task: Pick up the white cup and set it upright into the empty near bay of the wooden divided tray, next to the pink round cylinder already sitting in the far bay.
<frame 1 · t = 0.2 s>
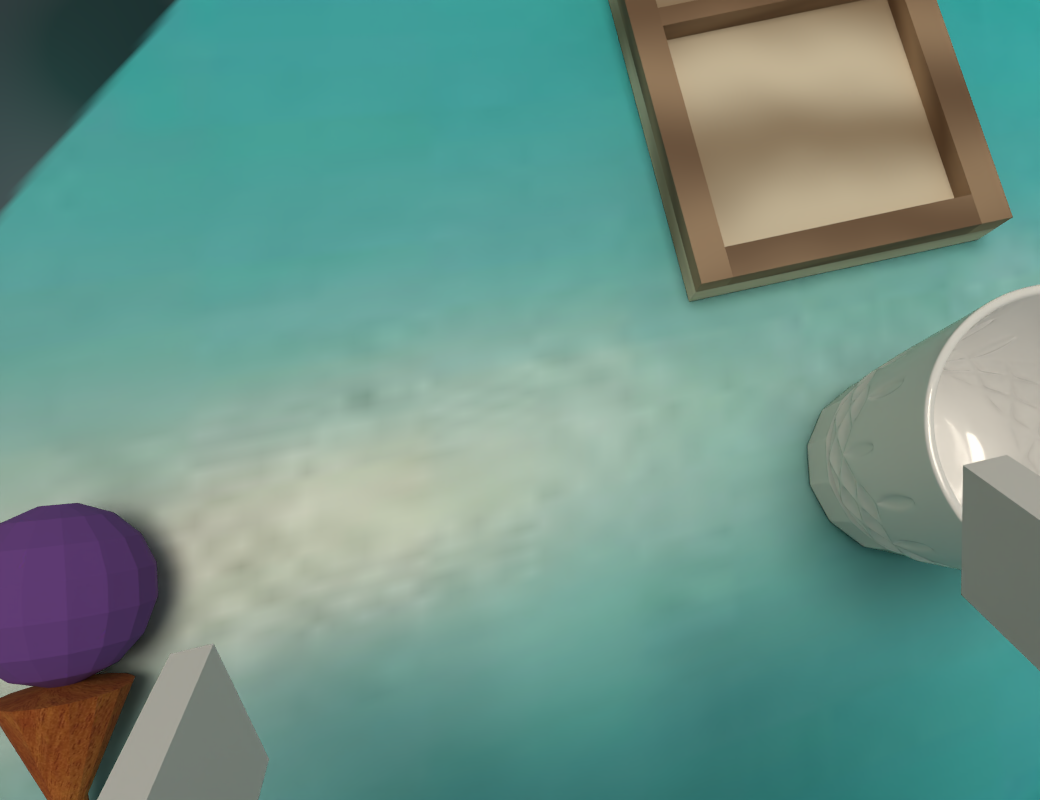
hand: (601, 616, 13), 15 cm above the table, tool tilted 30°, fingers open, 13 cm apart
wooden divided tray: (760, 29, 32), on the table
kendama: (112, 781, 28), on the table
white cup: (890, 465, 29), on the table
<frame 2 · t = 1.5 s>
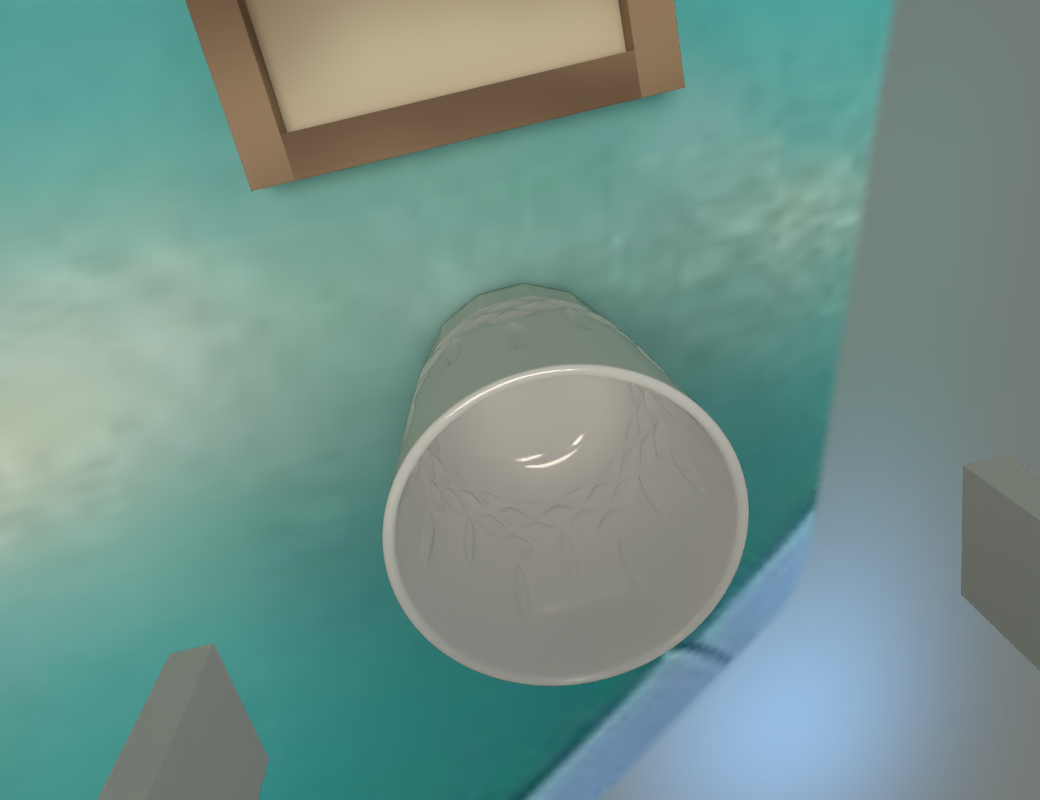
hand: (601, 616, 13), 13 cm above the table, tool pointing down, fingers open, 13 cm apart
white cup: (523, 379, 25), on the table
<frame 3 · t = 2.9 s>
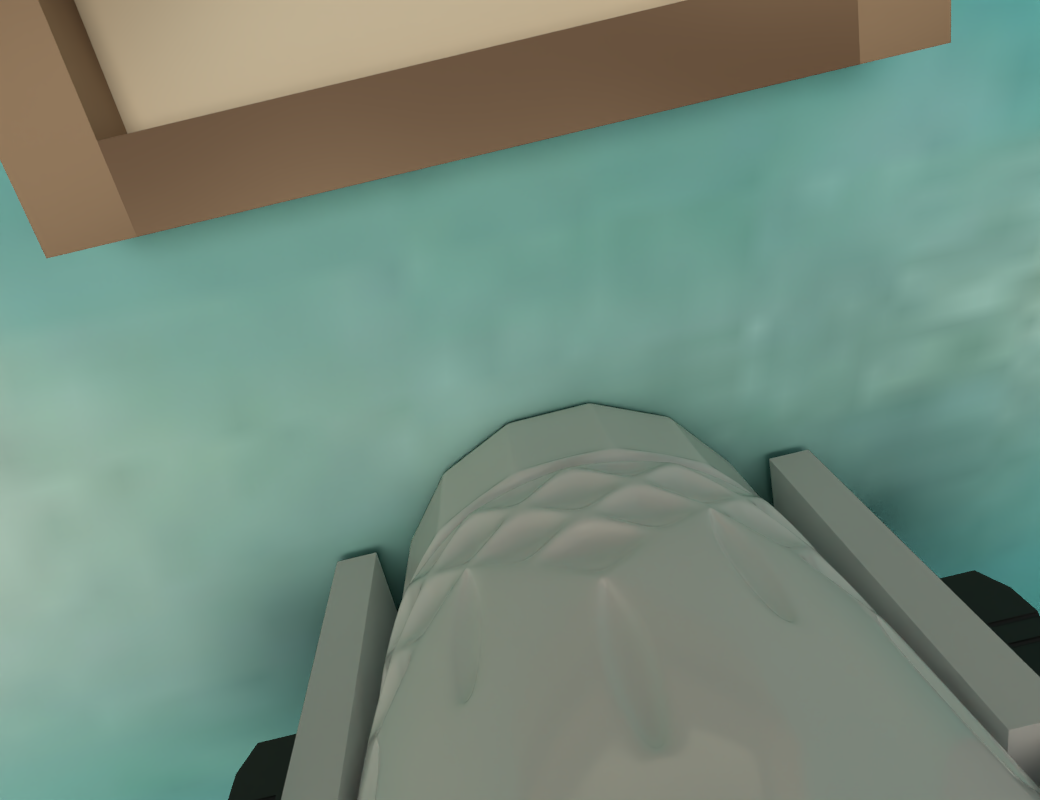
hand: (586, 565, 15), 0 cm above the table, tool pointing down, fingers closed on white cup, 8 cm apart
white cup: (581, 553, 15), on the table, touching gripper
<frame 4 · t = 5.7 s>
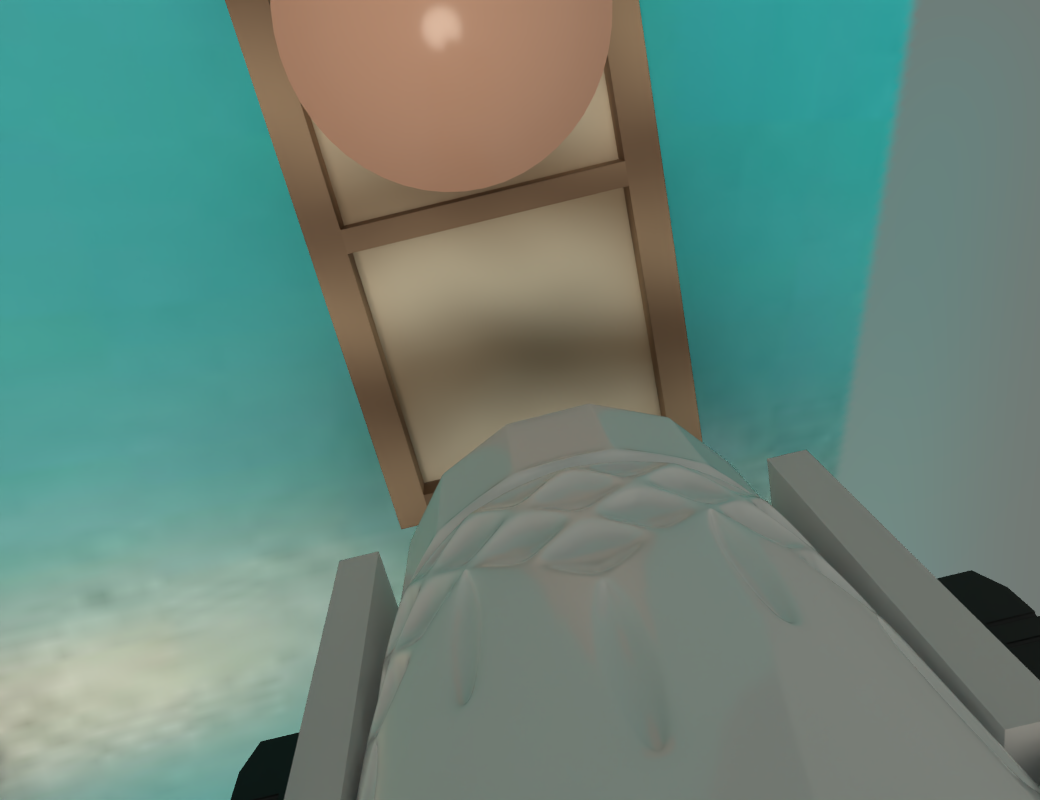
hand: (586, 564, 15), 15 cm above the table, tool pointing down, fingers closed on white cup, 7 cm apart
wooden divided tray: (482, 199, 27), on the table
pink round cylinder: (445, 43, 24), point 1 cm above the table, touching wooden divided tray
white cup: (580, 553, 15), point 15 cm above the table, touching gripper
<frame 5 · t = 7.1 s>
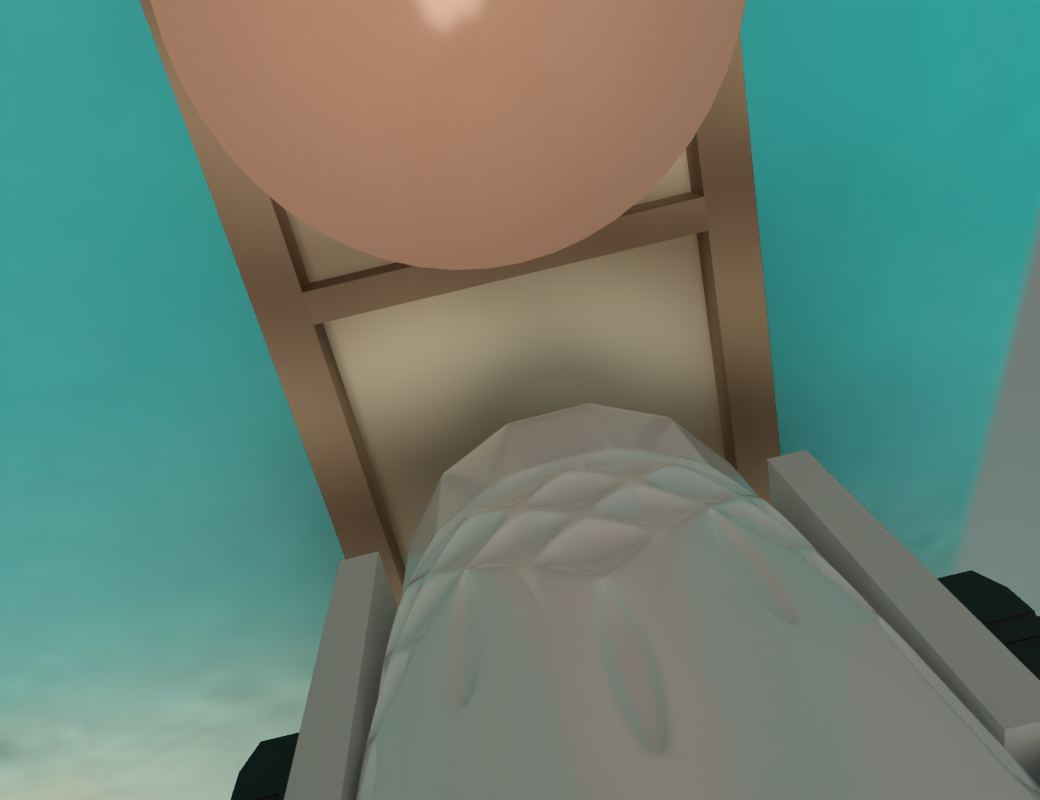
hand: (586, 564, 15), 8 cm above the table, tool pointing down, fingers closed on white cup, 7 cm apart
wooden divided tray: (501, 244, 20), on the table
pink round cylinder: (452, 28, 17), point 1 cm above the table, touching wooden divided tray
white cup: (580, 553, 15), point 7 cm above the table, touching gripper
when the fingers open (4 cm above the table, at t = 8.2 s): white cup drops 2 cm, resting on wooden divided tray.
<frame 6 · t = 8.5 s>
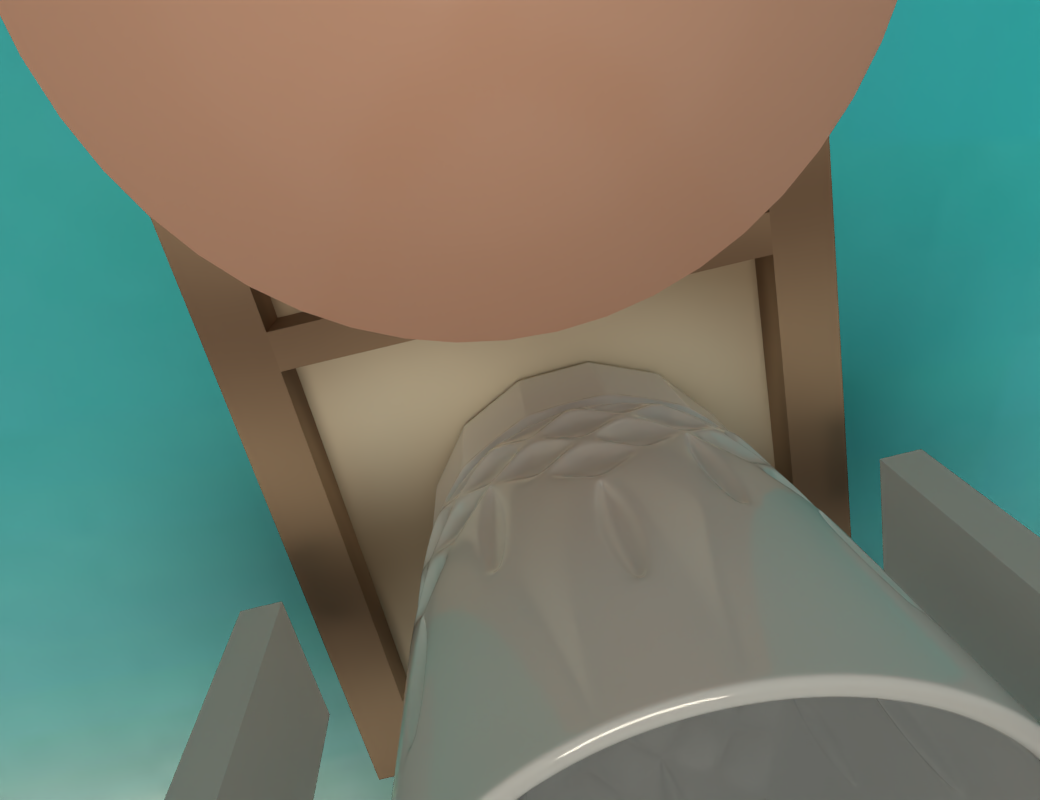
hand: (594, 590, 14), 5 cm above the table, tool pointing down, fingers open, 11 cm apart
wooden divided tray: (513, 268, 16), on the table
white cup: (583, 496, 17), point 1 cm above the table, touching wooden divided tray
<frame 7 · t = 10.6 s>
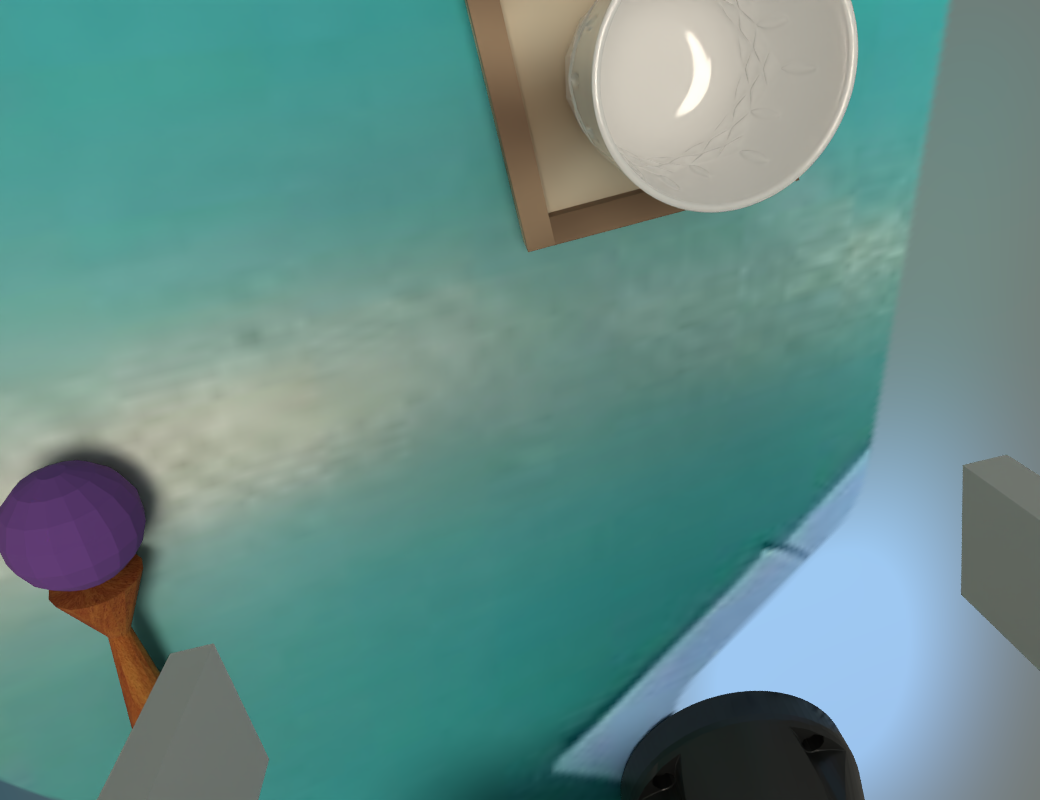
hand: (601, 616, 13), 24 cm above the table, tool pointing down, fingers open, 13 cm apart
kendama: (140, 601, 41), on the table
white cup: (642, 73, 31), point 1 cm above the table, touching wooden divided tray
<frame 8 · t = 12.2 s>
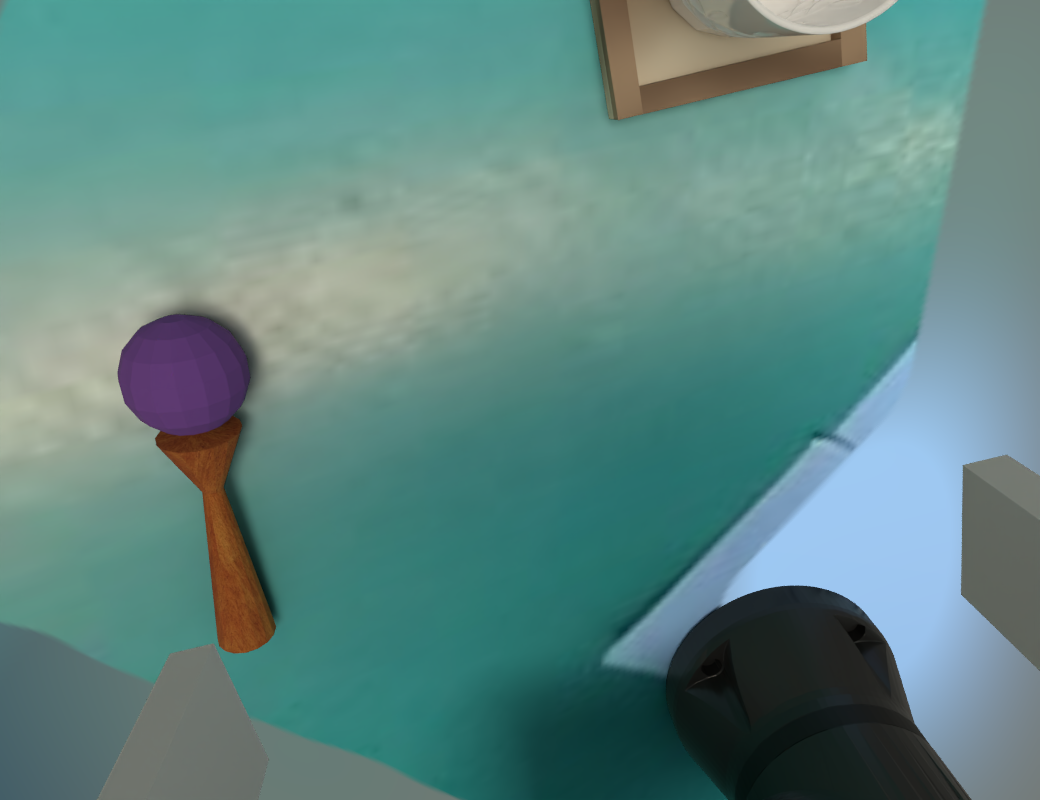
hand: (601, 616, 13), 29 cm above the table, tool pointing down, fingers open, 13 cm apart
kendama: (227, 471, 43), on the table
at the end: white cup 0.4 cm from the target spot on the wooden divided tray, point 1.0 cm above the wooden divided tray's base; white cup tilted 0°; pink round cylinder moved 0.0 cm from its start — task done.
